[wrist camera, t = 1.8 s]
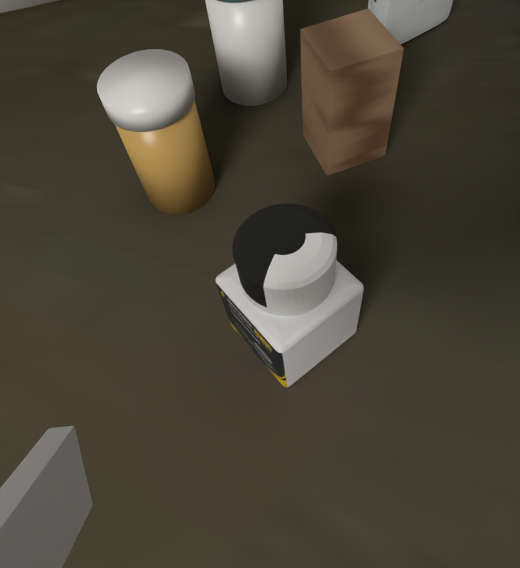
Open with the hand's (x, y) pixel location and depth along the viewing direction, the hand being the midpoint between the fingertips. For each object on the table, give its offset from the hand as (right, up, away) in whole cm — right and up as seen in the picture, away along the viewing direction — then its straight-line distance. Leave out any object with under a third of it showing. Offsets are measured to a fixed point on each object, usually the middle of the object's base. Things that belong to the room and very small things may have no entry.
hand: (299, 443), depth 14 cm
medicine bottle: (+1, +1, +23) cm, 23 cm away
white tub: (-2, +27, +39) cm, 47 cm away
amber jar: (-9, +14, +32) cm, 36 cm away
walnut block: (+7, +18, +33) cm, 38 cm away
